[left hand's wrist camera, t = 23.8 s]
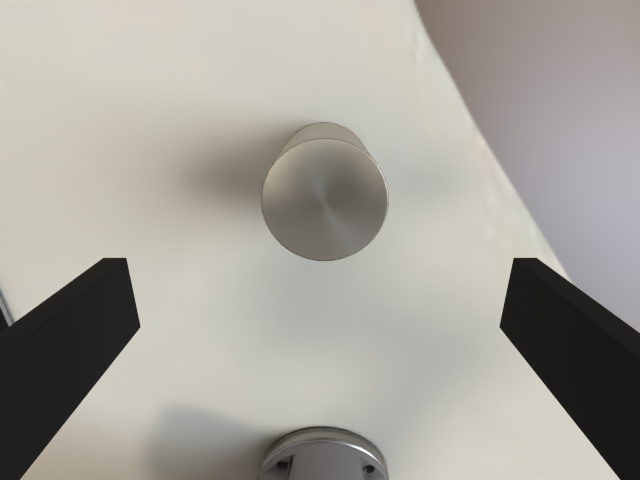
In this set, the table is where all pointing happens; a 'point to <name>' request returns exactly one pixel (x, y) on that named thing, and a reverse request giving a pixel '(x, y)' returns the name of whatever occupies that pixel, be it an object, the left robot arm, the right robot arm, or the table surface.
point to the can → (324, 194)
